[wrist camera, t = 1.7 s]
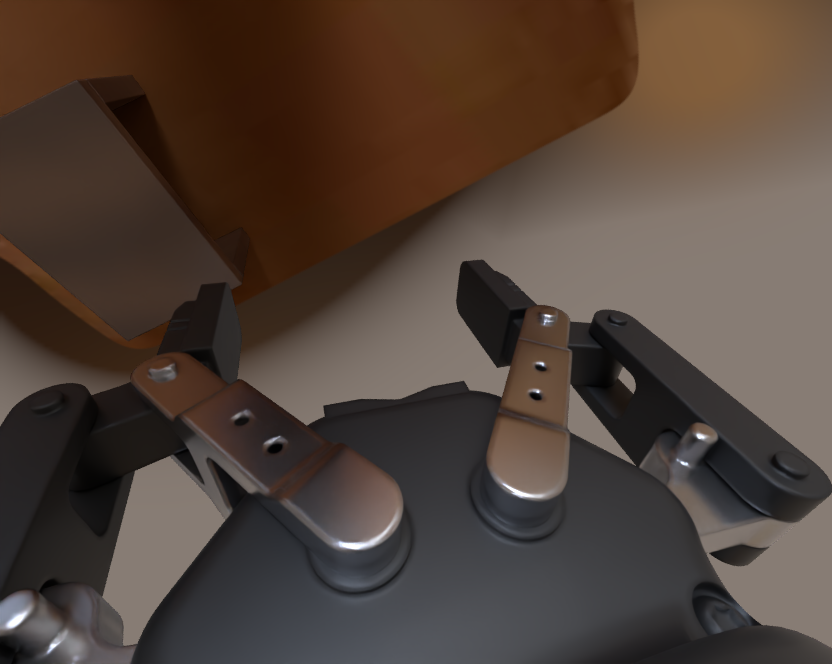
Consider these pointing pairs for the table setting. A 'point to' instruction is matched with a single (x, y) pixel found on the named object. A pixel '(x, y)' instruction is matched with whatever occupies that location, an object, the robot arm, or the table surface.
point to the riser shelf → (105, 209)
